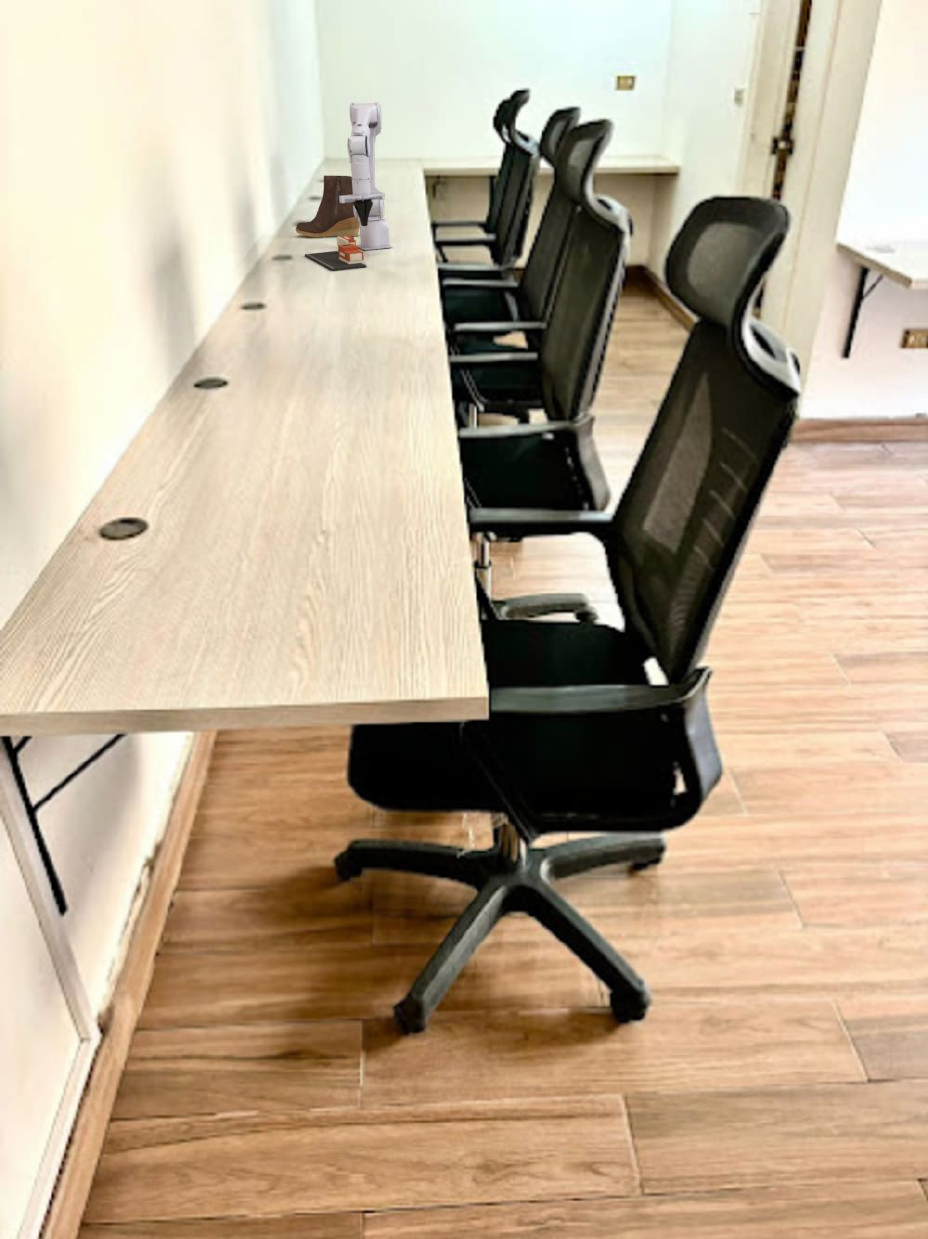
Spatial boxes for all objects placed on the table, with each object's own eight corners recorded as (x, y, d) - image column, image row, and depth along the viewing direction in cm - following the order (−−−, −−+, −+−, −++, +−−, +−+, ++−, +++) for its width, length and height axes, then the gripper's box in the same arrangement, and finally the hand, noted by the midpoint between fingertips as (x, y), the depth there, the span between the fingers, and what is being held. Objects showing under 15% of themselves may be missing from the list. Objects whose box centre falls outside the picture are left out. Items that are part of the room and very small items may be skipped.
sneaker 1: (350, 251, 316) (348, 235, 313) (359, 256, 308) (358, 239, 306) (338, 252, 314) (336, 236, 312) (347, 257, 307) (346, 240, 304)
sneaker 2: (352, 243, 301) (337, 245, 299) (363, 248, 294) (347, 249, 292) (354, 257, 303) (339, 259, 302) (364, 262, 296) (348, 264, 294)
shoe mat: (337, 252, 314) (336, 250, 314) (366, 267, 293) (366, 265, 292) (305, 256, 311) (304, 253, 310) (332, 271, 289) (332, 268, 288)
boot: (299, 234, 347) (293, 173, 337) (364, 233, 345) (360, 173, 334) (293, 238, 340) (287, 176, 329) (360, 238, 337) (355, 176, 327)
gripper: (343, 182, 290) (346, 229, 297) (387, 178, 295) (390, 225, 302) (335, 179, 295) (339, 226, 302) (379, 176, 300) (382, 222, 307)
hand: (364, 225), depth 302 cm, fingers closed
